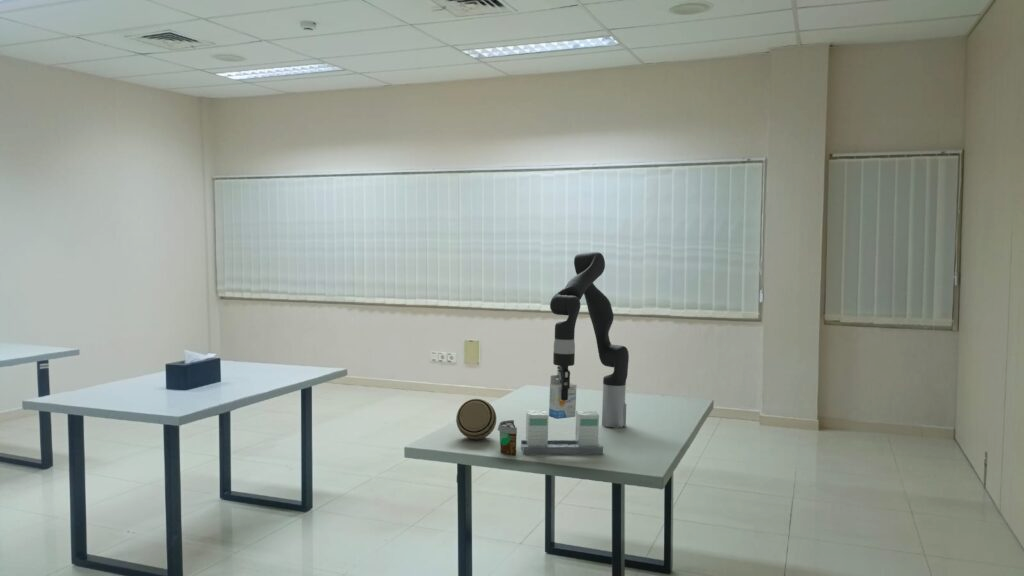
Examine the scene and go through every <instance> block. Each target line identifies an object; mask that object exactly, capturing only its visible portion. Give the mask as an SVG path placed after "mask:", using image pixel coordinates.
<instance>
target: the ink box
mask: <svg viewBox="0 0 1024 576" xmlns="http://www.w3.org/2000/svg"><path fill="white" fill-rule="evenodd" d="M557 378H559V376H558V375H557V374H554V375H553V374H552V375H550V384H549V401H548V402H549V405H548V406H549V407H548V417H550V418H553V419H555V420H558V419H559V420H560V419H567V418H568V419H569V418H576V411H577V410H576V407H577V384H576V383H571V382H570V388H569V389H568V400H562V399H561V384H560V380H557ZM564 385H567V384H564Z"/></svg>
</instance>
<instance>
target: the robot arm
mask: <svg viewBox="0 0 1024 576" xmlns="http://www.w3.org/2000/svg"><path fill="white" fill-rule="evenodd" d="M573 264H574V265H573V266H574V269H575V273H576V275H575V276H573V277H572V278H570V279H569V281H568V282H567V284H566V285H565V287H564V288H562V289H560V291H558V292H556V293H555V294H554V295H553V296H552V298H551V300H550V303H549V309H550V311H551V312H552V313H553V314H554V315H556V316H557V315H558V316H567V319H566V320H563V321H557V322H555V324H554V339H553V340H554V341H553V360H552V361H553V362H552V363H553V365H554V366H557V367H556V368H557V371H556V373H557V374H556V375H558V376H559V378H557V380H560V384H561V399H562V400H568V389H569V388H570V383H571V381H570V380H571V371H570V369H569V367H572V366H575V359H576V358H575V357H576V356H575V355H576V354H575V352H576V351H575V350H576V345H575V344H576V343H575V342H576V341H575V331H576V329H575V328H576V324H577V319H578V317H579V313H580V309H581V301H580V300H581V299H582V298H583V296H584V299H585V302H586V306H587V311H588V314H589V318H590V321H591V324H592V328H593V330H594V331H593V332H594V335H595V340H596V341H595V342H596V345H597V346H596V347H597V352H598V357H599V361H600V363H601V364H602V365H603V366H605V367H609V368H613V372H612V373H611V374H608V375H605V376H603V378H602V379H603V380H602V410H601V411H602V412H601V425H602V426H603V427H605V428H610V427H614V428H613V429H616V428H615V427H621V428H624V427H623V426H627V403H626V391H627V390H626V389H627V388H626V387H627V386H626V385H627V384H626V383H627V379H628V372H629V371H628V369H629V362H630V360H629V358H630V356H629V350H628V348H627V347H626V345H625V346H624V345H618V344H612V342H611V341H610V337H609V333H610V329H611V327H612V325H613V321H614V311H613V308H612V304H611V301H610V300H609V298H608V297H607V296H606V295H605V294H604V293H603V292H602V291H601V290H600V289H599V288H598V287H597V286H596V285H595V283H594V282H595V281H596V280H597V279H598V278H599V277H600V276H602V274H603V273H604V271H605V270H606V269H605V268H606V262H605V257H604V255H603V254H602V253H601V252H599V251H593V252H592V251H591V252H583V253H578V254H576V255H575V256H574V259H573ZM564 384H567V385H564Z"/></svg>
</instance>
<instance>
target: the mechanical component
mask: <svg viewBox="0 0 1024 576" xmlns="http://www.w3.org/2000/svg"><path fill="white" fill-rule="evenodd" d="M455 422H456V426H457V429H458V431H459V432H460V433H461V435H463V436H464V437H465V438H468V439H470V440H482V439H485V438H487V437H489V436H490V435H491V434H492V432H493V431H494V430H495V427H496V425H497V414H496V410H495V408H494V407H493V406H492V404H491V403H490V402H487V400H485V399H481V398H471V399H469V400H467V401H465V402H463V404H461V405H460V407H459V409H458V410H457V412H456V417H455Z"/></svg>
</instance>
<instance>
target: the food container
mask: <svg viewBox="0 0 1024 576" xmlns="http://www.w3.org/2000/svg"><path fill="white" fill-rule="evenodd" d="M517 429H518V428H517V427H516V425H515V420H513V419H510V420H503V421H499V424H498V426H497V430H498V431H499V446H500V449H499V450H500V454H502V455H507V456H515V457H516V456H517V433H518V431H517Z"/></svg>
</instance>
